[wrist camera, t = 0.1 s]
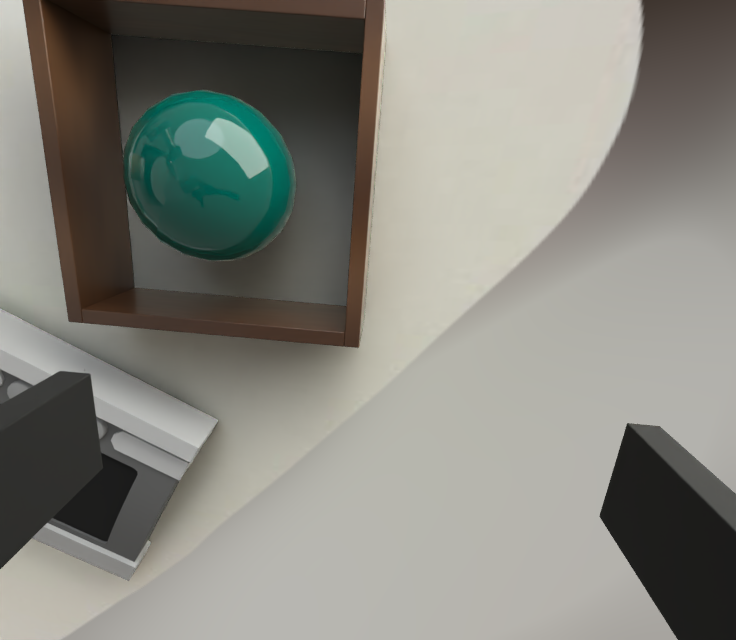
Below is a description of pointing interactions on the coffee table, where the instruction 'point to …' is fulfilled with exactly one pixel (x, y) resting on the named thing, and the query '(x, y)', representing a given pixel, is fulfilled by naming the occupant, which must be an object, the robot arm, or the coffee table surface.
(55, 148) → the box
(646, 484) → the robot arm
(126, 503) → the alarm clock
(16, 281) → the coffee table surface
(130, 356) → the coffee table surface
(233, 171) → the sphere
